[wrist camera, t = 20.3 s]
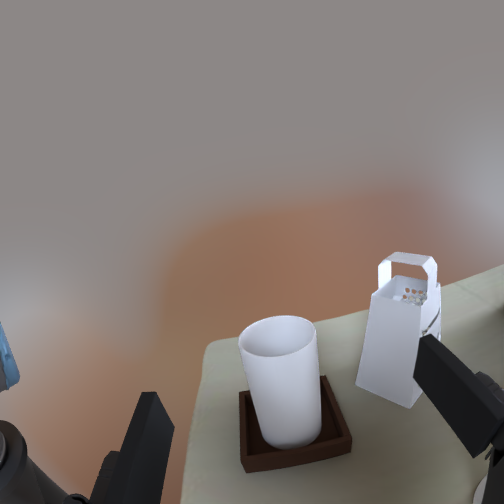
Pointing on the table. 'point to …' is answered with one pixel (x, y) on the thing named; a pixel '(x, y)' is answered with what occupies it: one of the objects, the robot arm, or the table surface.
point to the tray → (269, 458)
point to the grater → (398, 330)
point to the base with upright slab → (480, 491)
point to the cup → (283, 379)
